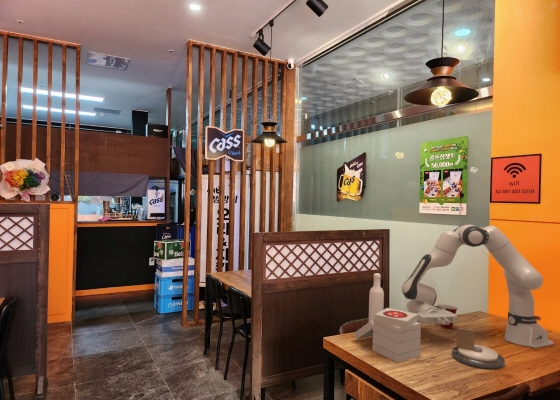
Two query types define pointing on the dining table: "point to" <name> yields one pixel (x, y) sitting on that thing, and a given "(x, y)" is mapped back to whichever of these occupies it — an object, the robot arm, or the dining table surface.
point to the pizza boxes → (393, 334)
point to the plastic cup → (450, 309)
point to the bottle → (376, 298)
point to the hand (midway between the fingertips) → (446, 323)
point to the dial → (473, 347)
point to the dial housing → (478, 364)
